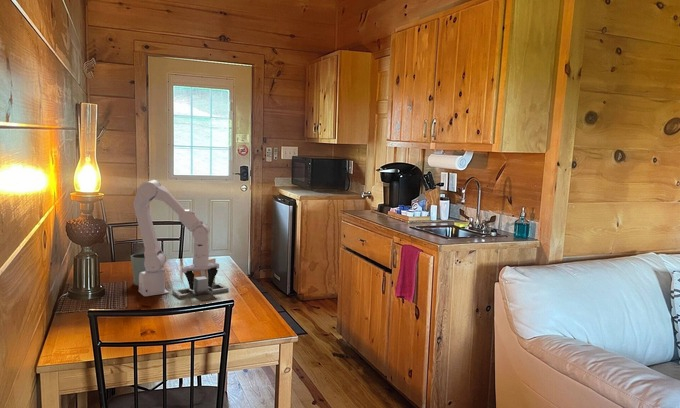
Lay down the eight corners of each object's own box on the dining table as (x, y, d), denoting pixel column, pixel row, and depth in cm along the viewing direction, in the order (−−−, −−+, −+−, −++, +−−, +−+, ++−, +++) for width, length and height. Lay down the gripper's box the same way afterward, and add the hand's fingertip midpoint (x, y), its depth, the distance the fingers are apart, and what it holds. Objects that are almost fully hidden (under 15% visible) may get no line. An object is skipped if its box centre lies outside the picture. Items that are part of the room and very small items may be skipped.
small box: (192, 281, 215) (192, 257, 213) (201, 278, 220) (201, 255, 218) (206, 284, 211) (206, 260, 210) (215, 281, 216) (215, 258, 215)
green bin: (162, 282, 212) (162, 254, 211) (143, 287, 203) (143, 258, 202) (144, 278, 216) (144, 251, 215) (125, 284, 207) (125, 255, 206)
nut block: (197, 294, 197) (197, 279, 197) (194, 292, 200) (194, 277, 200) (207, 293, 200) (207, 278, 199) (203, 290, 203) (203, 276, 202)
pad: (201, 301, 189) (201, 300, 189) (195, 297, 194) (195, 296, 194) (216, 299, 193) (216, 298, 193) (210, 295, 197) (210, 294, 197)
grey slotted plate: (179, 299, 191) (179, 295, 191) (172, 293, 197) (172, 290, 197) (228, 291, 203) (228, 288, 203) (220, 286, 209) (220, 283, 209)
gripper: (186, 258, 191) (186, 293, 192) (222, 254, 199) (222, 287, 201) (180, 254, 196) (180, 288, 198) (215, 251, 205) (214, 283, 207)
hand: (200, 287), depth 200 cm, fingers open, 7 cm apart
